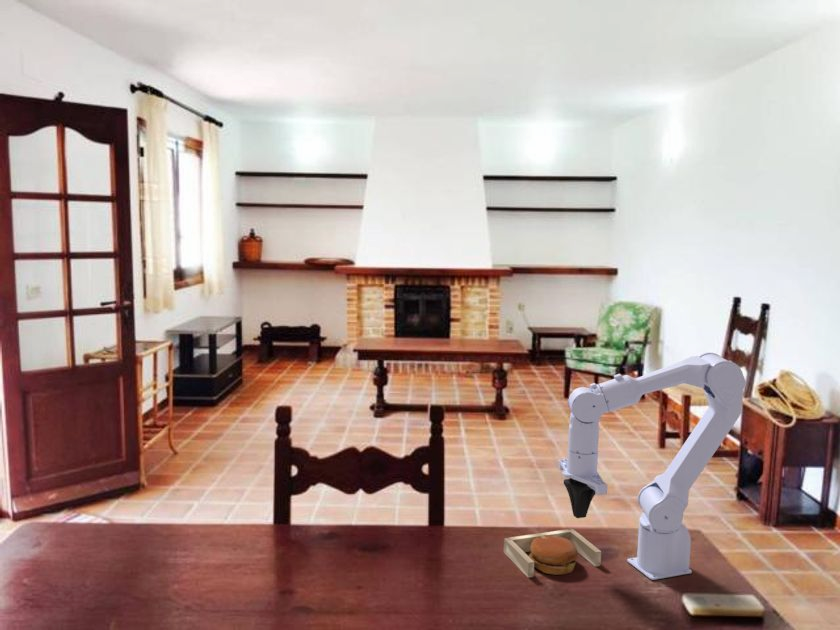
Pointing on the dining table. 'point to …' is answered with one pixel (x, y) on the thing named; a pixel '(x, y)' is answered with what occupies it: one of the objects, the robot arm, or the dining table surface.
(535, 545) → the burger
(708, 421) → the robot arm
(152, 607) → the dining table surface
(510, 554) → the bay
